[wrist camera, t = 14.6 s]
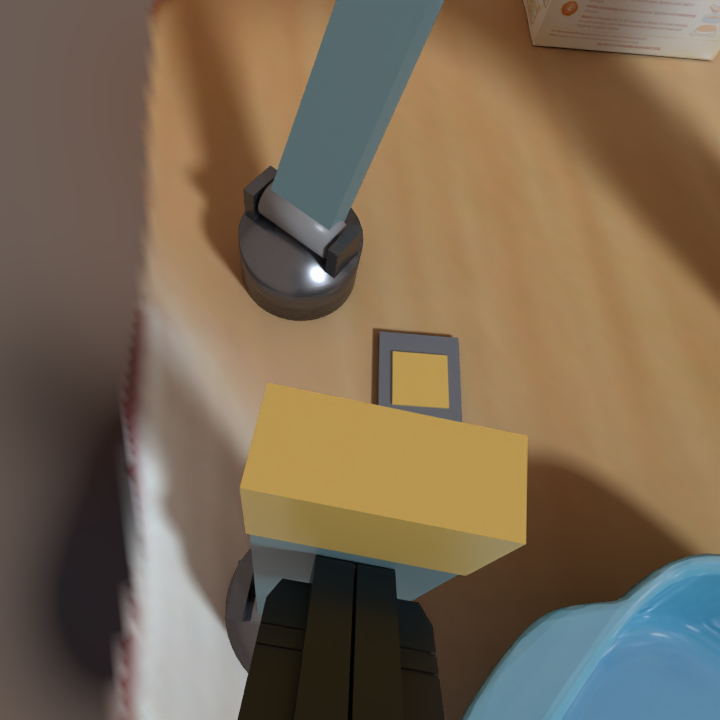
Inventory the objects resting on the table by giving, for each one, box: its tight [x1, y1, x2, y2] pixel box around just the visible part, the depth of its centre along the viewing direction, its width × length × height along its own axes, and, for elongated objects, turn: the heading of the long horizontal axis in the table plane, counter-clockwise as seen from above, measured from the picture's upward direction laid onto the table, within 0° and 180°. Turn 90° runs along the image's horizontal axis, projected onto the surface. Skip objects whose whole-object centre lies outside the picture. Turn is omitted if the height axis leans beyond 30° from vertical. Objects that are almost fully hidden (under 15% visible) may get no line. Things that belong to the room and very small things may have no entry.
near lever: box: [240, 383, 528, 625], centre depth 15 cm, size 2×4×18 cm, turn 80°
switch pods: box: [225, 166, 363, 673], centre depth 28 cm, size 24×6×6 cm, turn 3°
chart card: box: [377, 331, 462, 422], centre depth 30 cm, size 11×4×1 cm, turn 178°
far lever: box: [258, 0, 444, 258], centre depth 25 cm, size 2×4×18 cm, turn 54°
